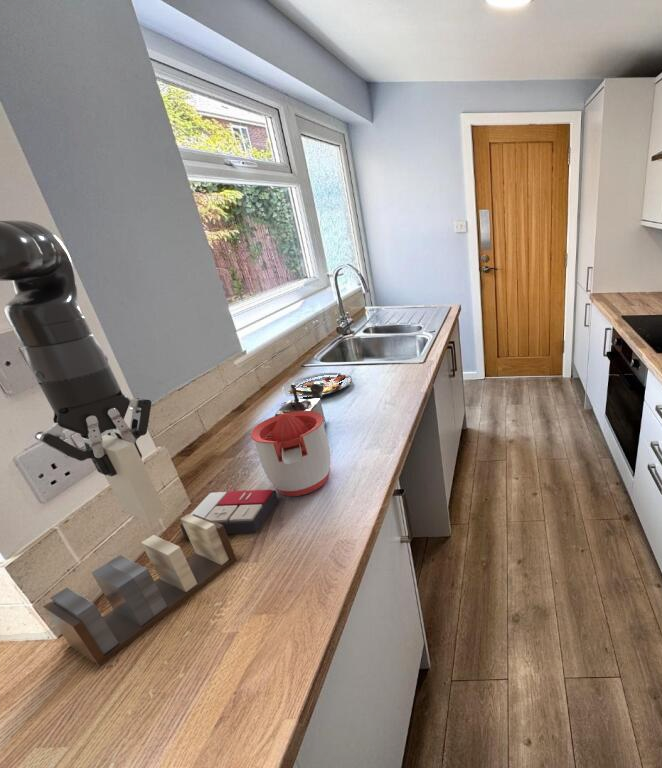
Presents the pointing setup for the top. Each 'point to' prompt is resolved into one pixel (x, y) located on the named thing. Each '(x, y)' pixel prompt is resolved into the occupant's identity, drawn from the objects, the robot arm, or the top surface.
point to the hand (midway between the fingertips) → (123, 468)
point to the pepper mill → (305, 401)
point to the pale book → (132, 481)
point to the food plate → (327, 389)
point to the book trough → (141, 590)
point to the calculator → (237, 509)
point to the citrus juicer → (294, 451)
